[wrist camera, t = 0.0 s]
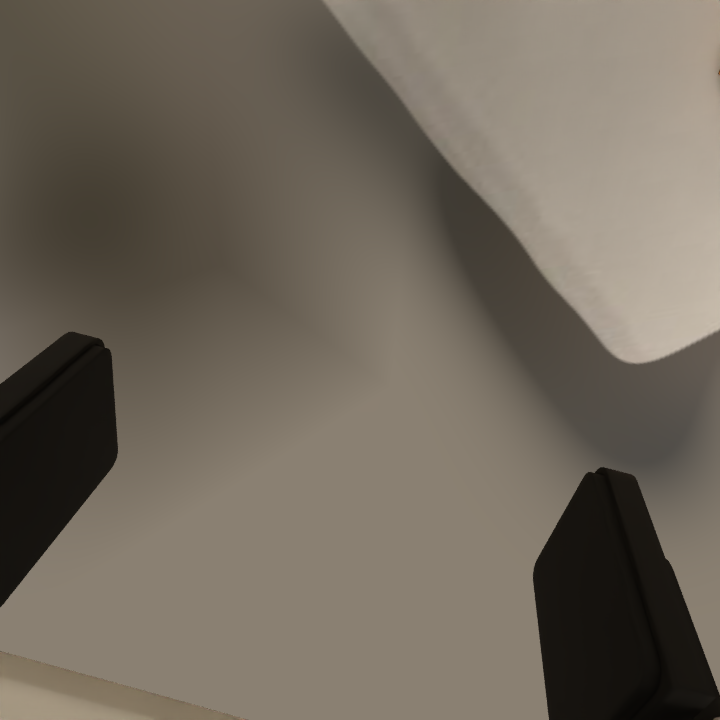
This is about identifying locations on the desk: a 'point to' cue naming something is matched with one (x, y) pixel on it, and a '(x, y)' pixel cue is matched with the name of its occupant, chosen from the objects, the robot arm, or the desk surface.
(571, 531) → the robot arm
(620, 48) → the desk surface
